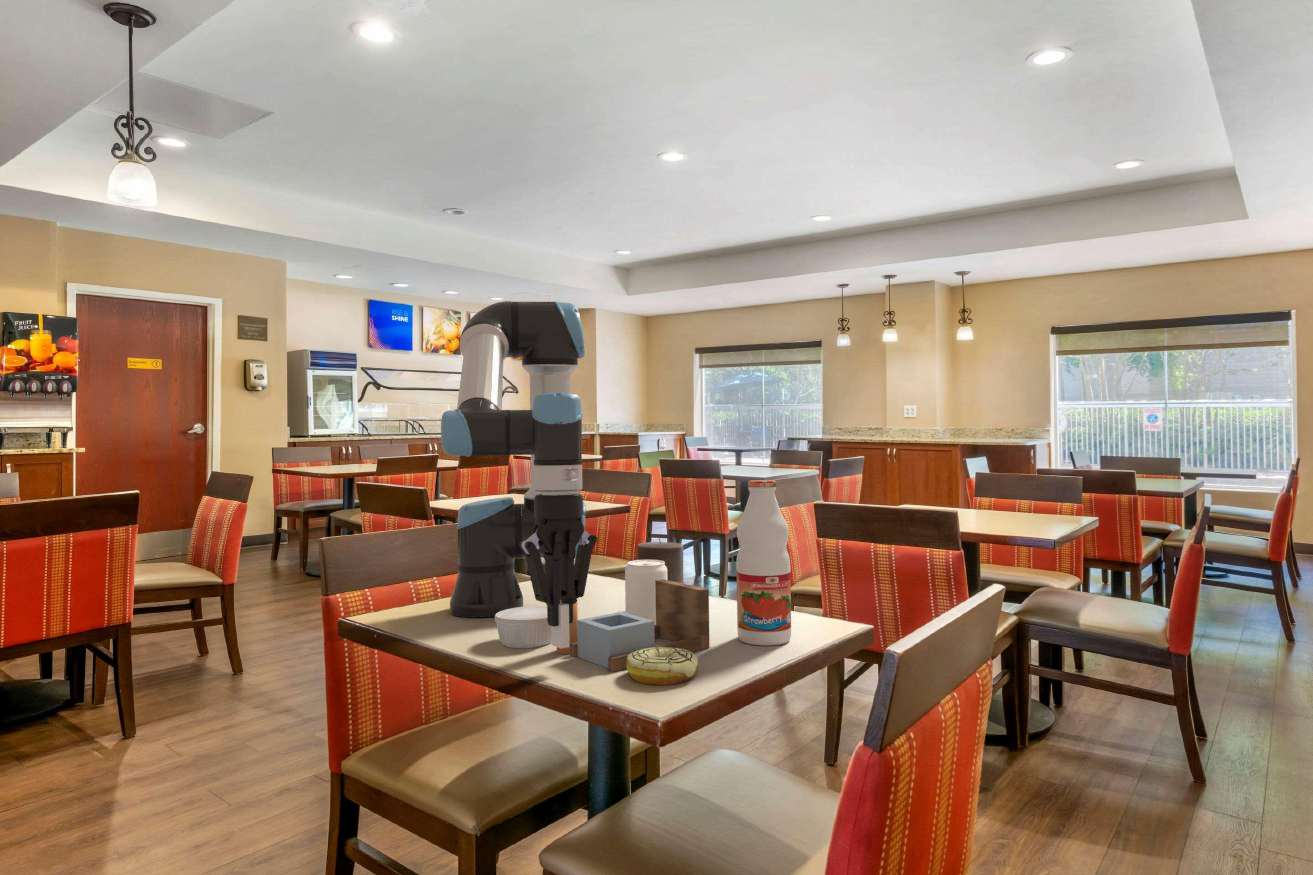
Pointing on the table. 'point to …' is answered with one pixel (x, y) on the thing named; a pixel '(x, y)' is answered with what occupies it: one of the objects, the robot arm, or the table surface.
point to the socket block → (613, 636)
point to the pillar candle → (664, 557)
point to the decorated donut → (662, 665)
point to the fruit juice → (763, 569)
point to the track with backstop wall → (674, 620)
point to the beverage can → (643, 587)
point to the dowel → (571, 631)
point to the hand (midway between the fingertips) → (560, 645)
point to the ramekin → (524, 627)
